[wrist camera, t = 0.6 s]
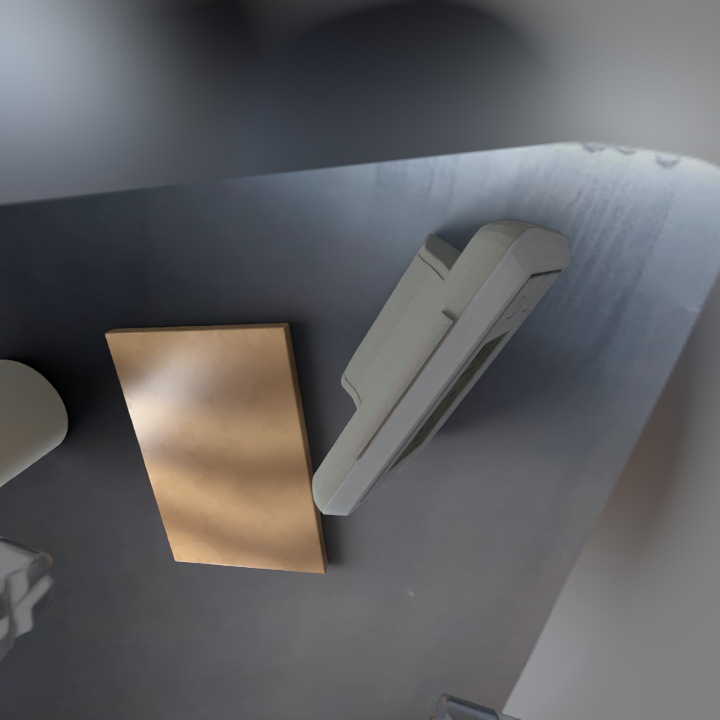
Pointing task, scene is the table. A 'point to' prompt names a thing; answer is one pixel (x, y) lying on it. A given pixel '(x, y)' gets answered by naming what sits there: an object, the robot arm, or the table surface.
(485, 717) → the robot arm
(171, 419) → the wooden board
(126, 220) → the table surface
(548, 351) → the table surface
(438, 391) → the digital clock
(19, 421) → the travel mug
